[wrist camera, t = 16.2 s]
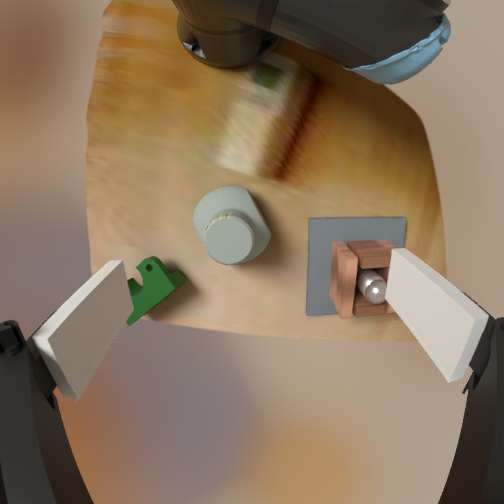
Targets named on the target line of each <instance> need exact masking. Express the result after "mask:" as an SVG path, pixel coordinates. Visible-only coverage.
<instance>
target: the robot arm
mask: <svg viewBox="0 0 504 504" xmlns="http://www.w3.org/2000/svg"><path fill="white" fill-rule="evenodd" d="M172 1H173V3H174V4H175V6H176V8H177V9H178V11H179V15H178V20H177V32H178V36H179V39H180V41H181V43H182V44H183V46H184V47H185V49H186V50H187V51H188V53H189V54H190V55H191V56H193V57H194V58H195V59H197V60H198V61H200V62H202V63H205V64H207V65H210V66H214V67H220V68H237V67H243V66H247V65H250V64H253V63H255V62H258V61H260V60H261V59H263V58H265V57H266V56H267V55H269V54H270V53H271V52H272V51H273V50H274V49H275V48H276V47H277V45H278V44H279V42H280V40H281V38H282V37H283V38H285V39H288V40H290V41H292V42H295V43H297V44H299V45H302V46H304V47H306V48H308V49H310V50H312V51H314V52H316V53H319V54H321V55H323V56H325V57H327V58H328V59H330V60H332V61H334V62H336V63H338V64H340V66H341V67H342V68H344V69H346V70H348V71H354V72H356V73H357V74H359V75H361V76H363V77H365V78H367V79H368V80H370V81H372V82H374V83H377V84H396V83H399V82H402V81H405V80H407V79H409V78H411V77H413V76H414V75H416V74H417V73H419V72H420V71H422V70H423V69H424V68H426V67H427V66H428V65H429V64H430V63H431V62H432V61H433V60H434V59H435V58H436V57H437V56H438V55H439V53H440V52H441V51H442V45H443V44H444V43H446V42H447V41H448V39H449V36H450V32H451V28H450V26H451V25H450V22H449V20H448V19H447V17H446V15H445V13H443V11H444V10H445V9H446V8H447V7H448V6H449V5H450V3H451V0H172ZM385 299H386V300H387V302H388V303H389V304H390V305H391V307H392V308H393V309H394V310H395V312H396V313H397V314H398V315H399V317H400V318H401V319H402V320H403V322H404V323H405V324H406V326H407V327H408V328H409V330H410V331H411V332H412V333H413V335H414V336H415V337H416V339H417V340H418V341H419V343H420V344H421V345H422V347H423V348H424V349H425V351H426V352H427V354H428V355H429V356H430V358H431V359H432V360H433V362H434V363H435V365H436V366H437V367H438V369H439V370H440V371H441V373H442V375H443V376H444V377H445V379H446V380H447V382H448V383H450V382H453V381H456V380H459V379H461V378H463V376H464V375H465V373H466V371H467V368H468V366H470V367H471V368H472V370H473V373H472V375H471V377H470V379H469V381H468V382H467V384H466V386H465V388H464V390H463V392H462V393H463V394H465V392H466V390H467V389H468V396H467V402H466V408H465V413H464V419H463V424H462V428H461V433H460V437H459V441H458V445H457V449H456V453H455V456H454V460H453V463H452V466H451V470H450V473H449V475H448V478H447V481H446V484H445V487H444V490H443V492H442V495H441V498H440V500H439V503H438V504H504V318H503V317H502V318H497V319H496V320H495V319H494V318H493V317H492V316H491V315H490V314H489V313H488V312H486V311H485V310H484V309H483V308H482V307H481V306H479V305H477V303H476V302H475V301H474V300H472V299H471V298H470V297H469V296H468V295H466V294H465V293H464V292H462V291H460V290H459V289H457V288H456V287H455V286H454V285H452V284H451V283H450V282H449V281H448V280H446V279H445V278H444V277H442V276H441V275H440V274H439V273H437V272H436V271H435V270H434V269H432V268H431V267H430V266H428V265H427V264H426V263H424V262H423V261H422V260H420V259H419V258H418V257H416V256H415V255H414V254H412V253H411V252H410V251H408V250H407V249H405V248H395V249H392V254H391V262H390V269H389V276H388V282H387V288H386V294H385ZM133 310H134V307H133V303H132V299H131V295H130V291H129V287H128V282H127V278H126V273H125V269H124V264H123V260H115V261H109V262H108V263H107V264H105V265H104V266H103V267H102V268H101V269H100V270H99V271H98V272H97V273H96V274H94V275H93V276H92V277H91V278H90V279H89V280H88V281H87V282H86V283H85V284H84V285H83V286H82V287H81V288H80V289H78V290H77V291H76V292H75V293H74V294H73V295H72V296H71V297H70V298H69V299H68V300H67V301H66V302H65V303H64V304H63V305H62V306H61V307H60V308H59V309H58V310H56V311H55V312H53V313H52V314H51V315H50V317H48V319H47V320H46V321H45V322H44V323H43V324H42V326H40V327H39V328H38V329H37V330H36V331H35V332H34V333H33V334H32V335H31V336H30V338H28V340H27V341H25V339H24V336H23V334H22V332H21V330H20V327H19V325H18V323H17V322H16V321H14V320H9V321H4V322H2V323H0V504H94V503H93V501H92V499H91V497H90V494H89V492H88V490H87V488H86V486H85V483H84V481H83V479H82V476H81V474H80V471H79V469H78V466H77V464H76V461H75V459H74V456H73V453H72V450H71V447H70V444H69V441H68V439H67V435H66V431H65V428H64V425H63V421H62V418H61V414H60V411H59V406H58V402H57V399H56V397H55V395H54V393H53V391H54V389H55V387H56V386H57V387H58V389H59V390H60V392H61V394H62V395H63V397H65V398H69V399H73V400H77V401H79V400H80V398H81V396H82V395H83V393H84V390H85V389H86V387H87V386H88V384H89V382H90V380H91V379H92V377H93V375H94V373H95V372H96V370H97V368H98V367H99V365H100V363H101V361H102V360H103V358H104V357H105V355H106V353H107V352H108V350H109V348H110V346H111V345H112V343H113V342H114V340H115V338H116V337H117V335H118V334H119V332H120V330H121V329H122V327H123V326H124V324H125V323H126V321H127V319H128V318H129V316H130V315H131V313H132V312H133Z"/></svg>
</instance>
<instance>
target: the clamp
mask: <svg viewBox="0 0 504 504" xmlns="http://www.w3.org/2000/svg"><path fill="white" fill-rule="evenodd" d="M136 268H137V269H138V270H139V272H140V273H141V275H142V278H143V287H141V286H139V285H138V284H137V283H136V281H135V280H134V278H131V279H129V280H127V282H128V287H129V291H130V295H131V299H132V303H133V307H134V310H133V312H132V313H131V315H130V316H129V318H128V319H127V321H126V322H127V324H128V325H129V326H130V325H131V324H133V323H134V322H135V321H137V320H138V319H139V318H141V317H142V316H144V315H145V314H146V313H147V312H149V311H150V310H151V309H152V308H154V307H155V306H156V305H157V304H159V303H160V302H161V301H162V300H164V299H165V298H166V297H167V296H168V295H170V294H171V293H172V292H173V291H175V290H176V289H177V288H178V287H180V286H181V285H182V284H183V283H185V282H186V281H187V280H186V279H185V277H184V276H183V275H182V273H181V272H180V271H179V270H177V271H175V272H173V273H172V274H170V273H169V272H168V270H167V269H166V268H165V266H164V265H163V263H162V262H161V261H160V259H159V258H157V257H154V256H152V257H149V258H146V259H144V260H143V261H142V262H141V263H140V264H139V265H138V266H137V267H136Z"/></svg>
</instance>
